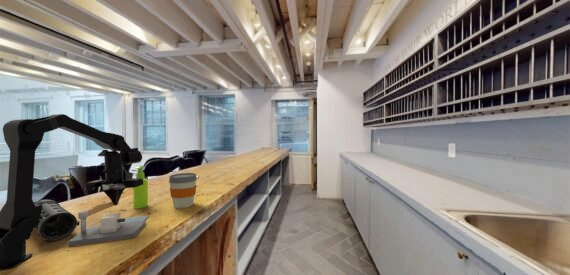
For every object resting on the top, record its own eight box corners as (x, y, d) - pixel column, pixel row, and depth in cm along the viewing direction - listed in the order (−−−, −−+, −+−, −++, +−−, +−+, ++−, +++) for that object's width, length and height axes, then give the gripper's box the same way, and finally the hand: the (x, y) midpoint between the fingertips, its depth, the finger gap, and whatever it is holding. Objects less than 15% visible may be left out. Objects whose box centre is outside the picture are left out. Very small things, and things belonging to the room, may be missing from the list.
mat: (142, 223, 86) (142, 222, 86) (118, 226, 84) (118, 225, 84) (148, 216, 94) (148, 215, 94) (127, 218, 92) (127, 217, 92)
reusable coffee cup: (197, 207, 105) (196, 176, 105) (167, 210, 101) (167, 178, 101) (197, 200, 117) (196, 172, 117) (170, 203, 112) (170, 174, 112)
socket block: (134, 237, 74) (133, 218, 74) (68, 246, 69) (68, 225, 69) (145, 224, 86) (145, 207, 86) (90, 230, 81) (89, 212, 81)
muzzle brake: (78, 237, 77) (34, 244, 69) (58, 220, 93) (20, 224, 85) (84, 209, 79) (41, 213, 70) (63, 197, 94) (27, 199, 86)
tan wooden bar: (116, 204, 89) (116, 200, 89) (83, 218, 74) (83, 212, 74) (111, 204, 89) (110, 200, 89) (76, 218, 74) (76, 212, 74)
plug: (121, 235, 76) (121, 216, 76) (100, 237, 75) (99, 218, 75) (127, 229, 81) (127, 212, 81) (106, 232, 79) (106, 214, 79)
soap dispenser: (130, 209, 103) (129, 167, 103) (136, 205, 110) (135, 165, 109) (144, 208, 105) (144, 166, 104) (149, 204, 111) (148, 164, 111)
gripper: (149, 162, 96) (151, 198, 96) (104, 164, 95) (106, 200, 95) (133, 166, 85) (135, 206, 85) (82, 168, 83) (85, 209, 84)
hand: (116, 205), depth 88 cm, fingers closed
